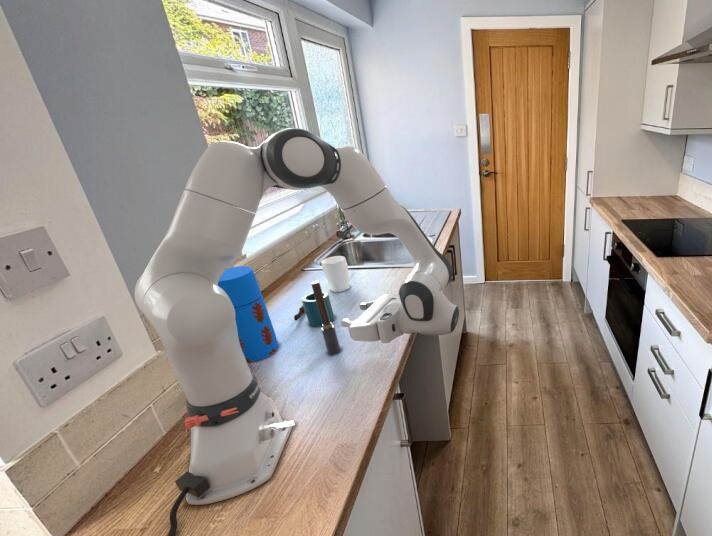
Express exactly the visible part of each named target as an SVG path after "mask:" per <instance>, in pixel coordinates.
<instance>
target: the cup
mask: <svg viewBox="0 0 712 536" xmlns="http://www.w3.org/2000/svg"><path fill="white" fill-rule="evenodd" d="M320 264H321V269H322V272H323V274H324V275H323V276H324V277H325V279H326V282H327V283H328V286H329V288H330V290H331V292H332V293H333V292H334V293H339V292H344V291H347V290H348V289H349V288H350V277H349V276H350V275H349V264H348V262H347V258H346V257H345V256H343V255H332V256H328V257H325V258H323V259H322V260H321V261H320Z"/></svg>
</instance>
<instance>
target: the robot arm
mask: <svg viewBox="0 0 712 536" xmlns="http://www.w3.org/2000/svg"><path fill="white" fill-rule="evenodd" d="M317 187H321V188H322V189H324V190H325V191H327V192H328V193H329V194H330V196H331V197H332V198H333V199H334V201H335V203H336V204H337V206H338V207H339V209H340V210H341V212H342V213H343V215H344V217H345V218H346V219H347V221H348V223H349V224H350V225H351V226H352V227H353V228H354V229H355V230H356V231H357V232H360V233H362V234H365V235H369V236H380V235H384V234H391V235H393V236H394V237H396V239H398V240H399V241H400V243H401V245H403V247H404V248H405V249H406V250H407V252H408V253H409V255H410V256H411V257H412V259H413V268H412V270H411V271H410V273H409V274H408V275H407V276H406V277H405V279H404V281H403V282H402V284H401V285H400V287H399V290H398V294H397V293H396V294H395V293H384V294H382V295H381V296H380V297H379V298H378V299H375V300H370V301H367V302H366V301H362V302H361V303H360V304H359V310H361V311H363V313H361V314H360V315H359V316H358V317H357V318H356V319H355V320H352V321H351V318H343V319H342V320H341V321H340V325H341V327H342V328H347V329H348V334H349V337H350V338H351V339H352V340H353V341H356V342H368V343H374V342H379V341H380V343H381V344H389V343H391V342H392V341H393V340H395V339H397V338H399V337H400V336H404V334H406V335H407V334H408V335H411V334H415V333H417V334H420V335H425V336H445V335H450V334H452V333H453V332H454V331H455V329H456V327H457V325H458V322H459V318H460V309H459V305H457V304H454V303H453V302H451V301H450V300H449V299H448V297H446V295H445V294H444V291H445V289H446V288H447V286H448V285H449V284H450V283H451V281H452V279H453V277H454V269H453V266H452V264H451V262H450V261H449V260H448V258H446V257H445V255H443V254H442V253H441V252H440V251H439V250H438V249H437V248H436V247H435V246H434V244H433V243H432V242H431V240H430V239H429V237H428V235H426V234H425V232H424V230H423V229H422V228H421V226H420V225H419V224H418V222H417V221H416V219H415V218H414V216H413V215H412V213H410V212H409V210H408V209H406V208H405V206H403V205H401V204H400V203H399V202H398V201H397V200H396V199H395V197H394V196H393V194H392V193H391V191H390V190H389V188H388V187H387V185H386V183H385V181H384V180H383V178H382V177H381V175H380V174H379V173H378V170H377V169H376V168H375V167H374V165H373V164H372V163H371V161H370V160H369V159H368V158H367V157H366V156H365V154H364V153H363V152H362V151H361V150H360V149H358V148H357V147H355V146H350V145H349V146H348V145H343V146H338V147H334V146H333V145H331V143H328V142H327V141H325V140H323V139H322V138H321V137H319V136H318V135H316V134H315V133H313V132H311V131H309V130H307V129H303V128H298V127H287V128H284V129H281V130H279V131H277V132H275V133H273V134H271V135H269V136H268V137H267V138H266V139H265V140H264V141H263V142H261V143H260V144H259V145H257V146H255V147H250V146H246V145H244V144H241V143H239V142H236V141H229V140H219V141H215V142H213V143H211V144H209V145H208V146H207V148H206V149H205V150H204V151H203V153H202V154H201V156H200V158H199V159H198V160H197V162H196V164H195V166H194V168H193V169H192V171H191V174H190V175H189V177H188V179H187V182H186V184H185V187H184V189H183V192H182V194H181V197H180V199H179V202H178V204H177V207H176V209H175V212H174V214H173V218H172V220H171V222H170V225H169V227H168V229H167V232H166V233H165V235H164V237H163V239H162V240H161V243H160V244H159V246H158V247H157V248H156V250H155V251H154V253H153V255H152V256H151V258H150V260H149V262H148V264H147V266H146V267H145V269H144V271H143V273H142V274H141V275H140V276H139V277H138V279H137V281H136V283H135V286H134V301H135V304H136V306H137V308H138V310H140V311H141V312H142V314H143V315H144V316H145V317H146V319H147V320H148V321H149V323H150V324H151V325H152V327H153V328H154V330H155V331H156V332H157V335H158V337H159V339H160V341H161V343H162V346H163V349H164V351H165V353H166V356H167V358H168V361H169V364H170V369H171V370H172V373H173V374H174V377H175V379H176V380H177V382H178V385H179V386H180V388H181V390H182V393H183V394H184V397H185V405H186V412H187V415H188V416H187V417H186V418H185V420H184V425H185V427H186V429H188V430H189V429H190V459H189V468H188V471H186V472H184V473H183V474H181V475H180V476H179V477H178V478H177V479H176V480H174V483H175V485H176V486H177V488H178V490H179V491H181V492H180V493H179V495H178V496H177V498H176V499H175V501H174V503H173V505H172V507H171V510H170V513H169V524H170V525H169V526H170V528H169V531H168V534H167V536H175V535H176V532H177V529H178V517H177V514H178V510H179V507H180V506H181V503H182V502H183V500H184V498H185V500H186V503H187V504H188V505H193V506H202V505H209V504H214V503H219V502H221V501H224V500H228V499H231V498H235V497H237V496H240V495H242V494H245V493H248V492H249V491H252V490H254V489H256V488H258V487H259V486H261V485H263V484H264V483H266V482H267V481H268V480H270V479H271V478H272V476H273V474H274V472H275V469H276V467H277V465H278V462H279V461H280V459H281V458H280V457H281V455H282V452H283V451H284V448H285V446H286V443H287V441H288V438H289V436H290V434H291V432H292V429H293V426H295V422H294V420H285V419H283V418H282V416H281V414H280V411H279V410H278V408H277V406H276V403H275V402H274V400H273V398H272V397H270V396H268V395H266V394H264V393H263V392H261V387H260V384H259V381H258V379H257V378H256V376H255V374H254V373H253V372H252V371H251V369H250V367H249V364H248V362H246V359H245V357H244V354H243V351H242V349H241V346H240V342H239V337H238V331H237V325H236V321H235V309H234V306H233V304H232V302H231V300H230V298H229V296H228V295H227V294H226V292H225V291H224V290H223V289H222V288H220V287H219V286H217V285H218V281H219V279H220V277H221V276H222V274H223V273H224V271H225V270H226V269H227V268H229V265H230V264H231V262H233V260H234V259H235V258H237V257H238V256H239V255H240V254H241V253H242V251H243V249H244V246H245V244H246V242H247V238H248V235H249V233H250V230H251V227H252V226H253V225H252V224H253V222H254V219H255V217H256V214H257V211H258V208H259V205H260V202H261V200H262V199H263V198H264V197H263V196H264V195H265V193H266V192H267V191H268V190H269V189H270V188H276V189H277V188H278V189H285V190H292V191H293V190H294V191H302V190H307V189H311V188H317Z"/></svg>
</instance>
